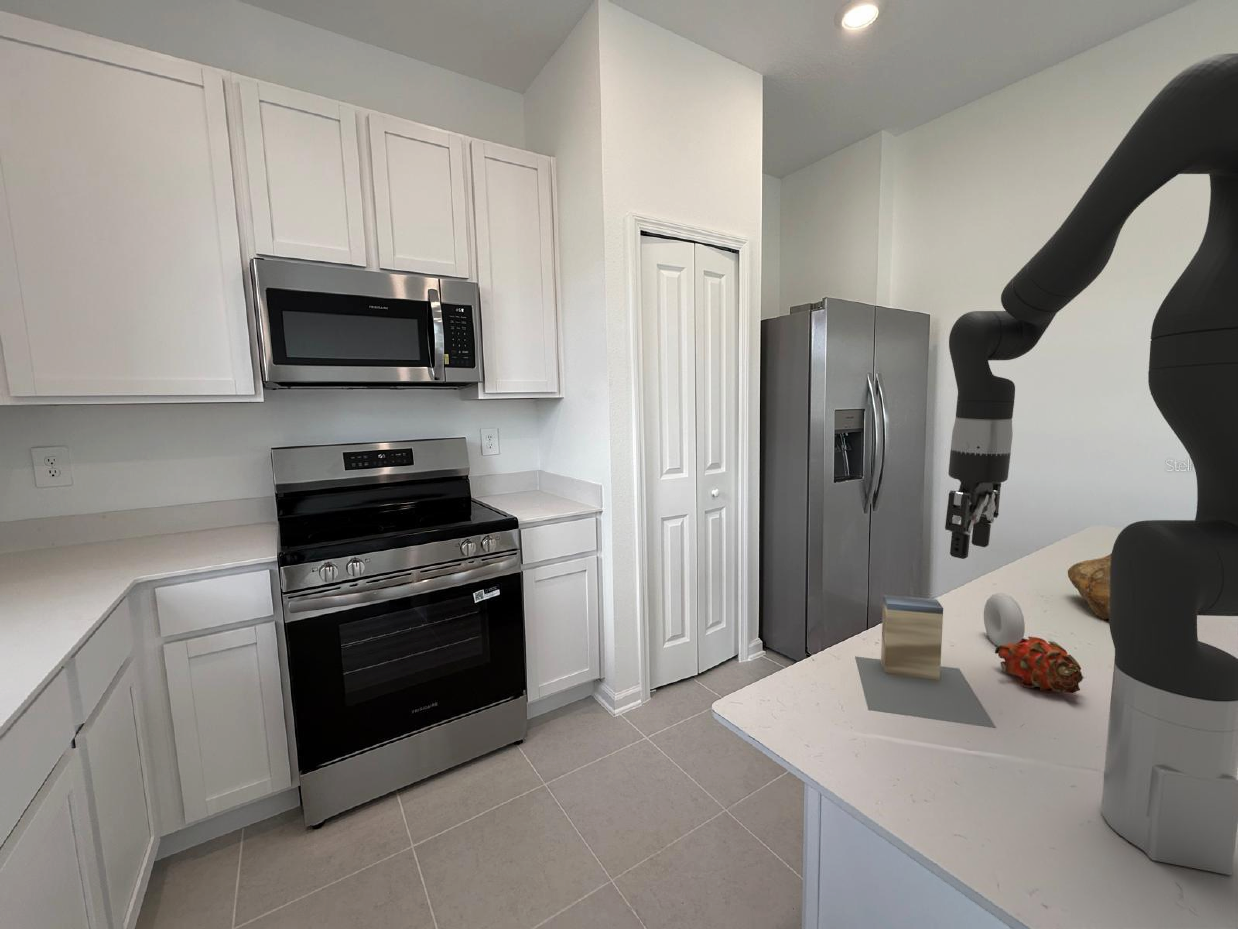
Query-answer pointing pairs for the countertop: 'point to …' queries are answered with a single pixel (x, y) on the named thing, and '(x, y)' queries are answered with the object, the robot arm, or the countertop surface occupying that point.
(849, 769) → the countertop surface
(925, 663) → the maple block
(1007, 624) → the donut
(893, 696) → the rubber mat
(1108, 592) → the rough brown rock
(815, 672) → the countertop surface
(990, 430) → the robot arm
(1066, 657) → the dragon fruit
